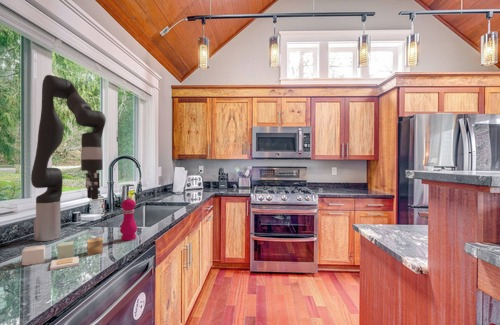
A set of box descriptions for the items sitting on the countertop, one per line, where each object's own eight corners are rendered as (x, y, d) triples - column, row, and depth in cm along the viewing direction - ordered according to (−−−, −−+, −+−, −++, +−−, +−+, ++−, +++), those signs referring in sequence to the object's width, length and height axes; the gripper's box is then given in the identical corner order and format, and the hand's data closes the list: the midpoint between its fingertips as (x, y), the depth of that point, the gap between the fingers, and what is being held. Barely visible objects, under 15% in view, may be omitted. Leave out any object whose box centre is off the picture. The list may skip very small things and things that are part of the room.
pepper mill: (140, 237, 129) (140, 195, 129) (129, 241, 122) (128, 197, 123) (128, 236, 132) (128, 194, 132) (116, 240, 125) (116, 196, 125)
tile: (50, 270, 90) (50, 267, 90) (51, 262, 97) (51, 260, 97) (78, 265, 94) (78, 262, 94) (78, 258, 101) (78, 255, 101)
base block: (21, 266, 94) (21, 251, 94) (24, 261, 99) (24, 247, 99) (43, 262, 97) (43, 248, 97) (45, 258, 102) (45, 244, 102)
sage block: (57, 260, 100) (57, 246, 100) (58, 256, 104) (58, 243, 104) (73, 257, 102) (73, 244, 102) (73, 253, 106) (73, 241, 106)
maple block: (87, 255, 105) (87, 242, 105) (87, 251, 109) (87, 239, 109) (102, 253, 107) (102, 240, 107) (101, 249, 111) (101, 237, 112)
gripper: (106, 157, 108) (107, 199, 108) (98, 159, 119) (99, 196, 119) (84, 157, 103) (85, 200, 103) (78, 159, 114) (78, 198, 114)
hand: (92, 198), depth 111 cm, fingers open, 8 cm apart
